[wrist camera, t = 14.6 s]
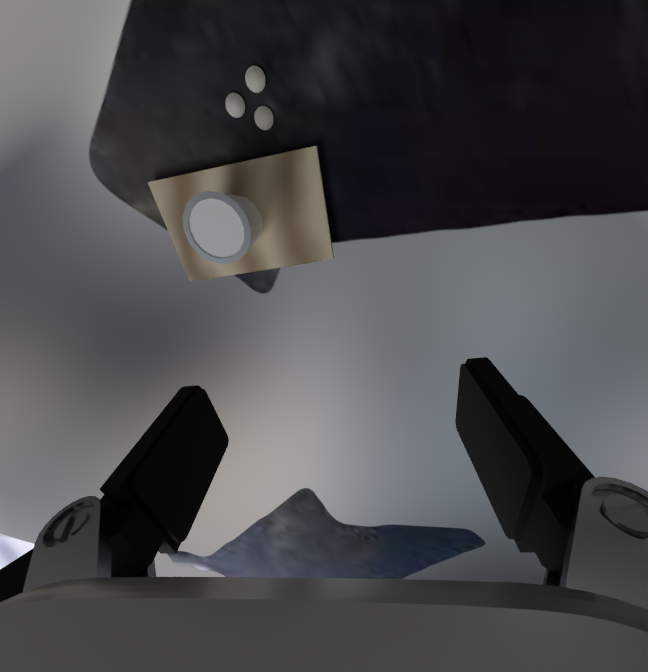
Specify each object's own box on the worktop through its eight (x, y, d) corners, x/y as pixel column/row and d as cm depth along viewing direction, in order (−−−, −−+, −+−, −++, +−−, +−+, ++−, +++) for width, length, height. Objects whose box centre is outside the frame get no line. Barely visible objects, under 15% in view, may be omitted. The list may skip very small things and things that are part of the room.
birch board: (317, 147, 29) (316, 145, 28) (333, 256, 35) (333, 258, 34) (154, 182, 32) (147, 182, 31) (193, 278, 38) (189, 281, 37)
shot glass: (246, 261, 35) (226, 278, 29) (201, 222, 33) (169, 231, 27) (279, 220, 32) (264, 229, 26) (232, 175, 30) (204, 172, 24)
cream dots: (262, 64, 26) (262, 63, 26) (275, 127, 29) (275, 127, 29) (218, 75, 27) (217, 75, 27) (234, 137, 30) (234, 137, 29)
